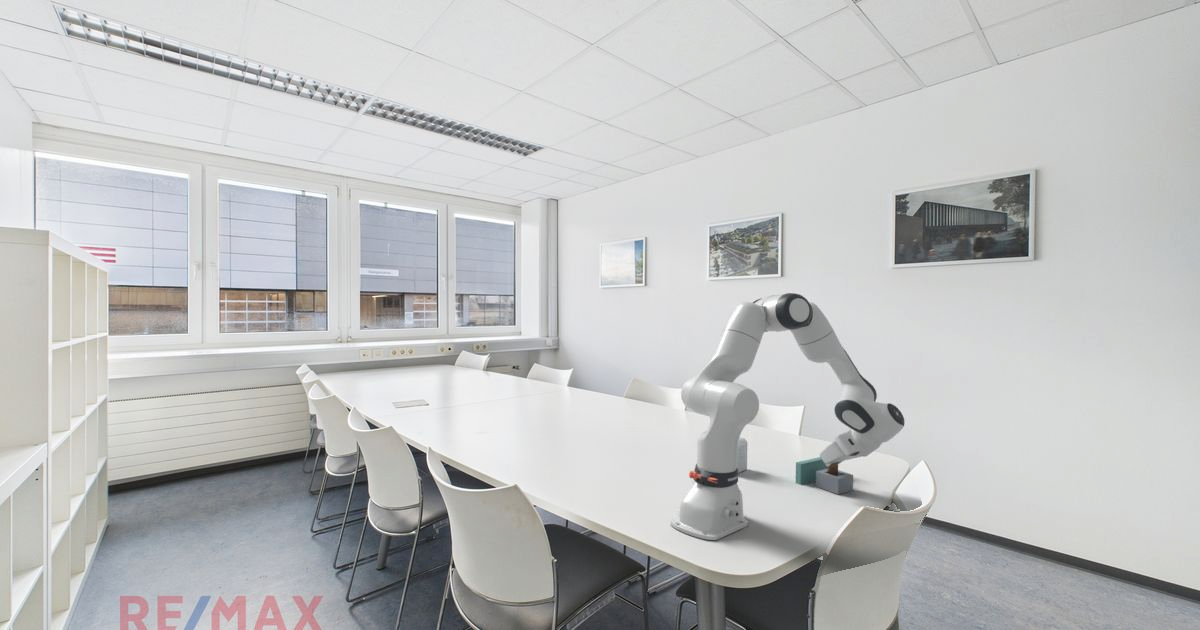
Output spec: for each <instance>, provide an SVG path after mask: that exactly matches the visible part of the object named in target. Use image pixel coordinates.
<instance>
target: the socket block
mask: <svg viewBox="0 0 1200 630" xmlns="http://www.w3.org/2000/svg"><path fill="white" fill-rule="evenodd" d="M815 487H816V488H821V489H822V490H825V491H828V492H830V493H833V494H836V495H840V494H844V493H845V494H846V493H847V492H851V491H854V474H851V473H848V472H845V471H842V470H839V469H838V476H834V475H831V474H828V473H827V469H824V470H820V471H816V481H815Z"/></svg>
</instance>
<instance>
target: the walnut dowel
mask: <svg viewBox="0 0 1200 630" xmlns="http://www.w3.org/2000/svg"><path fill="white" fill-rule="evenodd" d="M838 470H839V464H838V462H836V463H833V464H832V465H831V466H828V467H827V473H828V474H831V475H834V476H838Z"/></svg>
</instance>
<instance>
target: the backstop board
mask: <svg viewBox="0 0 1200 630" xmlns="http://www.w3.org/2000/svg"><path fill="white" fill-rule="evenodd" d="M827 467H828V466H826V465H825V463H824V462H823V461H822V459H821V458H820V456H819V457H815V458H814V457H813V458H809V459H806V460H801V461H797V462H795V484H798V485H800V484H801V485H804V483H805V484H808V483H807V482H809V483H812V482H811V481H813V482H816V481H815V480H816V471H820V470H824V469H827Z"/></svg>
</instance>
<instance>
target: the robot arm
mask: <svg viewBox="0 0 1200 630" xmlns="http://www.w3.org/2000/svg"><path fill="white" fill-rule="evenodd" d="M785 331H790V333H792V335H793V337H794V340H795V341H796V343H797V346H798V347H799V348H800V350H801V352H802V353H803V355H804V357H805V358H806V359H807V360H808V361H811V362H814V363H816V364H818V363H819V364H823V363H827V364H828V365H829V366H830V367H831V369H832V370H833V372H834V374H835V375H836V377H837V379H838V380H839V381H840V385H841V389H840V390H841V391H840V394H839V397H838V399H837V401H836V404H835V406H834V414H835V417H836V418H837V419H838V421H839V422H841V423H842V424H843V425H844V426H846V427H847V428H849V429H848V430H847V431H846V432H844V433H841V434H838V435H837V436H836V437H835V436H834V438H833V439H834V440H833V441H832V442H831V443H829V444H828V445H827V446H826V447H825V448H824V449H823V450H822V451H820V453H819V457H820V458H821V459H822V461H823V462H824V463H825V465H826V466H831V465H832V464H833V463H836V462H838V465H839V464H841V463H842V462H844V461H848V460H853V459H857V458H861V457H865V458H866V457H868V456H869V455H870V454H872V453H873V452H875V451H876V450H878V449H879V448H880V447H881V445H882V444H884V443H887V442H889V441H890V440H892V439H893V438H894V437H895V436H896V435H898V433H900V432H901V431H902V430H903V429H904V427H905V417H904V415H903V413H902V412H901V410H900V409H899V408H898V407H897V406H896V405H895V404H893V403H890V402H889V403H882V402H877V398H878V395H877V390H876V388H875V387H874V385H872V383H871V382H869V380H867V379H866V378H865V377H863V375H862V374H861V373H860V371H859V369H858V368H857V366H856V365H855V364H854V362H853V360H852V359H851V357H850V355H849V354H848V353H847V351H846V349H845V348H844V347H843V346H842V344H841V342H840V340H839V338H838V336H837V334H836V333H835V330H834V328H833V327H832V325H831V322H829V319H828V318H827V317H826V315H825V314H824V313H823V311H822V310H821V309H820V307H818V305H817V304H815V303H814V302H811V301H808V299H807V298H806V297H804V296H803V295H802V294H799V293H794V292H793V293H792V292H791V293H790V292H789V293H784V294H773V295H769V296H766V297H763V298H758V299H756V300H754V301H753V302H749V301H748V302H747V301H746V302H745V301H743V302H740V303H739V304H737V305H736V307H735V308H734V309H733V311H732V312H731V314H730V315H729V318H728V319H727V321H726V323H725V326H724V327H723V331H722V333H721V335H720V338H719V340H718V343H717V345H716V347H715V350H714V352H713V354H711V355H712V356H711V358H709V360H708V361H707V363H706V364H705V365H704V366H703V368H702V369H701V370H700V371H699V372H698V373H697V374H695V375H694V376H692V377H690V378H689V379H686V381H684V383H683V386H682V388H681V390H680V391H681V392H680V394H681V400H682V403H683V405H684V406H685V407H687V408H689V410H692V411H693V412H694V413H697V414H699V415H702V416H706V417H709V419H710V420H709V426H708V429H707V430H706V431H704V432H703V433H701V434H700V435H699V436H698V438H697V447H696V448H697V450H696V464H695V467H694V470H690V471H689V473H688V476H689V478H690V479H693V480H692V481H691V484H690V486H689V487H688V488H687V490H686V492H685V494H684V496H683V497H682V499H681V500H680V504H679V511H678V512H677V513H676V514H675V516H673V517H672V518H671V519H670V521H669V523H670V526H672V527H673V528H674V529H675V530H678V532H682V533H684V534H687V535H689V536H692V537H695V538H699V539H702V540H708V541H716V540H717V541H718V540H719V539H721V538H724V537H726V536H728V535H730V534H733V533H735V532H737V531H739V530H741V529H744V528H746V527H748V525H749V522H748V520H747V519H746V518H745V517H744V501H743V493H742V491H741V490H740V488H739V486H738V482H739V477H740V476H739V474H740V473H738V468H737V448H738V441H739V437H741V434H742V432H743V430H744V428H745V427H746V426H747V425H749V423H752V422H753V420H755V418H756V417H757V416H758V413H759V409H760V401H759V398H758V395H757V393H756V392H755V390H753V389H751V388H749V387H747V386H745V385H742V384H740V383H737V382H735V380H736V379H737V378H738V377H740V376H741V375H742V374H745V373H747V372H749V371H750V370H751V368H752V366H753V364H754V361H755V359H756V355H757V352H758V350H759V347H760V346H761V342H762V338H763V335H764V333H766V332H767V333H768V332H777V333H778V332H785Z"/></svg>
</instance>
